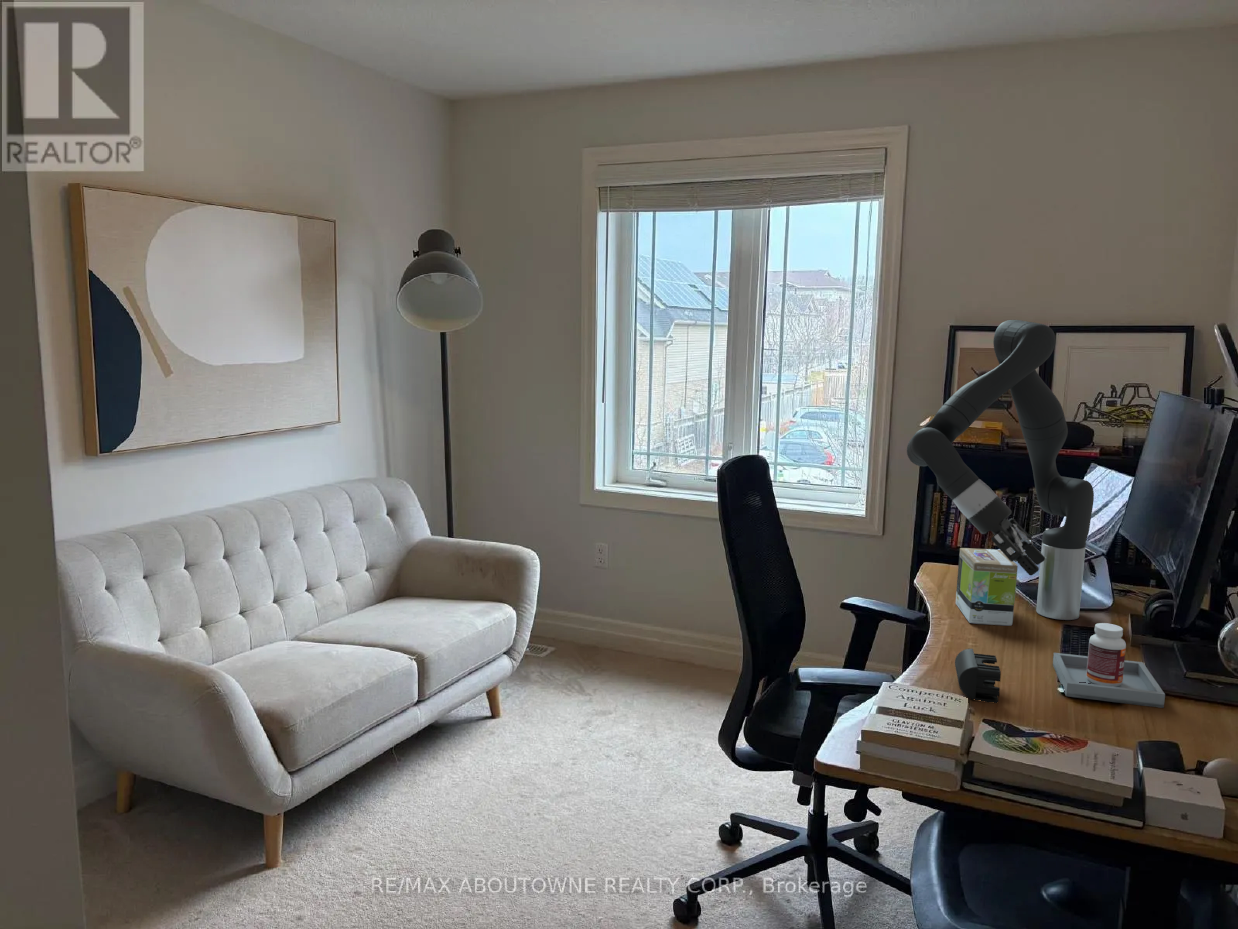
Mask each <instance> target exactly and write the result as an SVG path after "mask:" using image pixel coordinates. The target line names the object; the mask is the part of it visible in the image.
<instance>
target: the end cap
mask: <svg viewBox="0 0 1238 929" xmlns="http://www.w3.org/2000/svg"><path fill="white" fill-rule="evenodd" d="M974 652H975V651H974V649H973V648H965V649H963V650H961V651H960V652H958V654H957V655H956V657H955V659H954V667H955V672H956V678H957V682H958V686H959V688H960V690H961V692H962V693H963V694H964V695H966V696H967V698H969V699H970V700H971V699H972V700H971V701H974V700H973V699H975V700H981V701H985V702H984V703H989V702H994V703H993V704H998V703H999V697H1000V690H1001V689H1000V687H999V686H998V687H997V686H996V682H999V683H1000V682H1001V679H1002V678H1001V675H1002V674H1001V668H1000V666H998V665H995V664H996V663H998V659H997V655H991V654H983V653H974ZM981 701H980V702H981ZM997 702H998V703H997Z"/></svg>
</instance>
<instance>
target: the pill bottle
mask: <svg viewBox="0 0 1238 929" xmlns="http://www.w3.org/2000/svg"><path fill="white" fill-rule="evenodd" d="M1123 632H1124V628H1123V627H1121V626H1120V625H1117V624H1114V623H1113V624H1112V623H1107V622H1098V623H1096V624H1095V625H1094V634H1093V635H1091V636H1090V638H1089V642H1088V652H1087V656H1088V661H1087V671H1086V677H1087V679H1088V680H1089V681H1090V682H1092V683H1094V684H1097V685H1105V686H1114V687H1117V686H1120V685H1121V684H1122V681H1123V671H1124V661H1125V658H1126V651H1127V650H1126V649H1127V644H1126V641H1125V639H1123V638H1122V637H1123V634H1124V633H1123Z"/></svg>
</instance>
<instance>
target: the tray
mask: <svg viewBox="0 0 1238 929" xmlns="http://www.w3.org/2000/svg"><path fill="white" fill-rule="evenodd" d="M1087 661H1088V655H1079V654H1078V655H1077V654H1069V653H1061V652H1060V653H1059V652H1053V658H1052V666H1053V669H1054V670H1055V671H1054V672H1055V673H1056V676H1057V678H1058V681H1059V682H1060V685H1061V684H1063V686H1064V689H1065V692H1064V694H1065V696H1066V697H1071V698H1078V699H1087V700H1094V701H1102V702H1112V703H1120V704H1129V705H1137V706H1144V707H1152V708H1160V709H1164V707H1165V698H1166V693H1165V692H1164V691H1163V689H1162V688H1161V686H1160V685H1159V683H1158V682H1157V680H1156V679H1155V678H1154V676H1153V675H1152V673H1151V672H1150V671H1149V669H1148V667H1146V665H1145V663H1144V662H1142V661H1136V660H1135V661H1134V660H1125V661H1124V671H1123V681H1122V684H1121V685H1120V686H1117V687H1114V686H1105V685H1097V684H1094V683H1092V682H1090V681H1089V680H1088V679H1087V677H1086V671H1087ZM1079 682H1086V683H1079ZM1088 683H1091V684H1088Z"/></svg>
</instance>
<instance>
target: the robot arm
mask: <svg viewBox="0 0 1238 929" xmlns="http://www.w3.org/2000/svg"><path fill="white" fill-rule="evenodd" d="M992 341H993V349H994V354H995V357H996V359H997V362H998V365H997V366H996V367H995V368H993V369H991V370H990V371H987V372H986V373H984V374H983V375H980V376H978V377H977V378H974V379H973V380H971V381H970V382H967V383H966V384H963V386H961V387H960V388H959V389H958V390H956V391H955V393H953V394H952V395H951V396H950V397H949V398H948V400H947V401H946V402H944V403H943V404H942V405H941V407H940V408H939V409H938V411H937V412H936V414H935V415H934V416H933V417H932V419H931V420H930V421H928V422H927V423H926V425H924V426H923V427H922V428H920V429H919V430H917V431H916V432H915V434H914V435H913V436H912V437H911V439H910V440H909V442H908V443H907V446H906V455H907V457H908V459H909V461H910V462H912V464H914V465H916V466H917V467H928V468H929V469H930V470H931V471H932V472H933V474H934V475H935V477H936V484H937V485H938V487H939V488H940V489H941V490H942V491H943V492H944V494H946V495H947V496H948V497H949V498H950V499H951V500H952V502H953V503H954V504H955V505H956V507H957V508H958V510H959V511H960V512H961V514H963V516H965V518H966V519H967V520H968V521H969V522H970V523H971V524H972V525H973V526H974V527H975V528H976V529H977V531H979V533H980V534H981V535H986V534H987V533H989V532H992V534H993V535H994V536H992V537H991V538H990V540H991V541H992V542H993V543H994V544H995V545H996V546H997V548H998V550H1001V551H1002V552H1003V553H1004V554H1005V555H1006V557H1007V558H1008V559H1009V560H1010V561H1011V562H1015V563H1016V562H1017V564H1018V566H1020V568H1022V569H1023V570H1024V572H1026V573H1027V574H1028V575H1029V576H1034V575H1035V574H1036V573H1037V572H1038V576H1039V577H1038V586H1037V587H1038V589H1037V597H1036V599H1037V600H1036V613H1037V614H1038V615H1040V616H1043V617H1046V618H1048V619H1049V618H1050V619H1055V620H1060V621H1061V620H1063V621H1064V620H1065V621H1071V620H1072V621H1073V620H1077V619H1079V617H1080V608H1081V598H1082V590H1083V576H1084V567H1085V558H1086V557H1085V555H1086V544H1087V540H1088V537H1089V532H1090V527H1091V521H1092V514H1093V508H1094V500H1095V494H1094V493H1095V492H1094V487H1093V485H1092V484H1091V482H1089V481H1088V480H1085V479H1080V478H1075V477H1074V478H1073V477H1067V476H1061V475H1060V473H1059V472H1058V469H1057V463H1056V461H1057V460H1056V459H1057V456H1058V455H1059V453H1060V451H1061V450H1062V448H1063V446H1064V445H1065V442H1066V440H1067V438H1068V434H1069V433H1068V432H1069V431H1068V424H1067V421H1066V416H1065V414H1064V409H1063V407H1062V404H1061V402H1060V401H1059V399H1058V398H1057V396H1056V395H1055V394H1054V392H1053V391H1052V389H1050V387H1049V386H1048V385H1047V384H1046V383H1045V381H1044V380H1043V379H1042V378H1041V376H1040V375H1039V373H1038V372H1037V369H1038V368H1039V367H1040V366H1042V365H1043V364H1044V363H1045V362H1046V361H1047V360H1048V359H1049V358H1050V356H1051V355H1052V354H1053V352H1054V350H1055V346H1056V335H1055V333H1054V330H1053V329H1052V328H1051V327H1050V326H1048V325H1046V324H1043V323H1039V322H1035V321H1034V322H1033V321H1027V320H1026V321H1025V320H1020V319H1010V320H1008V319H1007V320H1004V321H1003V322H1001V323H1000V324H999V325H998V326H997V328H996V330H995V332H994V336H993V340H992ZM1009 390H1010V395H1011V398H1012V401H1013V403H1014V408H1015V409H1016V414H1017V418H1018V419H1017V420H1018V423H1019V425H1020V430H1021V433H1022V435H1023V436H1022V437H1023V439H1024V442H1025V445H1026V449H1027V453H1028V456H1029V460H1030V464H1031V468H1032V473H1033V474H1032V475H1033V480H1034V487H1035V493H1036V498H1037V501H1038V505H1039V507H1040V509H1042V511H1044V512H1045V513H1048V514H1050V515H1055V516H1061V517H1065V521H1064V524H1063V526H1060V527H1055V528H1054V527H1053V528H1049V529H1048V528H1047V529H1046V530H1044V531H1043V532H1042V539H1041V540H1042V541H1041V550H1038V548H1037V547H1036V546H1035V545H1034V542H1033V537H1032V536H1031V535H1030V534H1029V533H1028V532H1027V531H1026V529H1024V528H1023V527H1022V526H1021V525H1020V524H1019V523H1018V522H1017V521H1016V519H1014V518H1012V517H1011V518H1009V519H1007V518H1008V517H1009V516H1010V515H1011V514H1012V509H1011V508H1009V507H1008V505H1007V504H1006V503H1005V502H1004V501H1003V500H1002V499H1001V498H1000V497H999V495H997V494H996V492H995V491H994V490H992V488H991V487H990V486H989V485H987V483H985V482H984V481H983V480H982V479H980V478H979V476H978V475H976V473H975V472H974V471H973V470H972V469H971V468H970V467H969V466H968V465H967V464H966V463H965V462H964V460H963V459H962V457H961V455H960V454H959V453H958V451H957V449H956V447H954V445H953V443H954V441H955V440H957V438H959V437H960V436H961V435H962V434H963V433H965V431H967V430H968V429H969V427H971V426H972V424H973V423H974V422H975V421H976V420H978V418H979V417H980V416H981V415H982V414H983V413H984V412H985V411H986V410H987V409H988V408H989V407H991V405H992V404H993V403H995V402H996V401H997V400H998V399H999V398H1000V397H1002V395H1004V394H1005V393H1007V392H1008V391H1009ZM1038 565H1039V566H1038Z"/></svg>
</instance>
